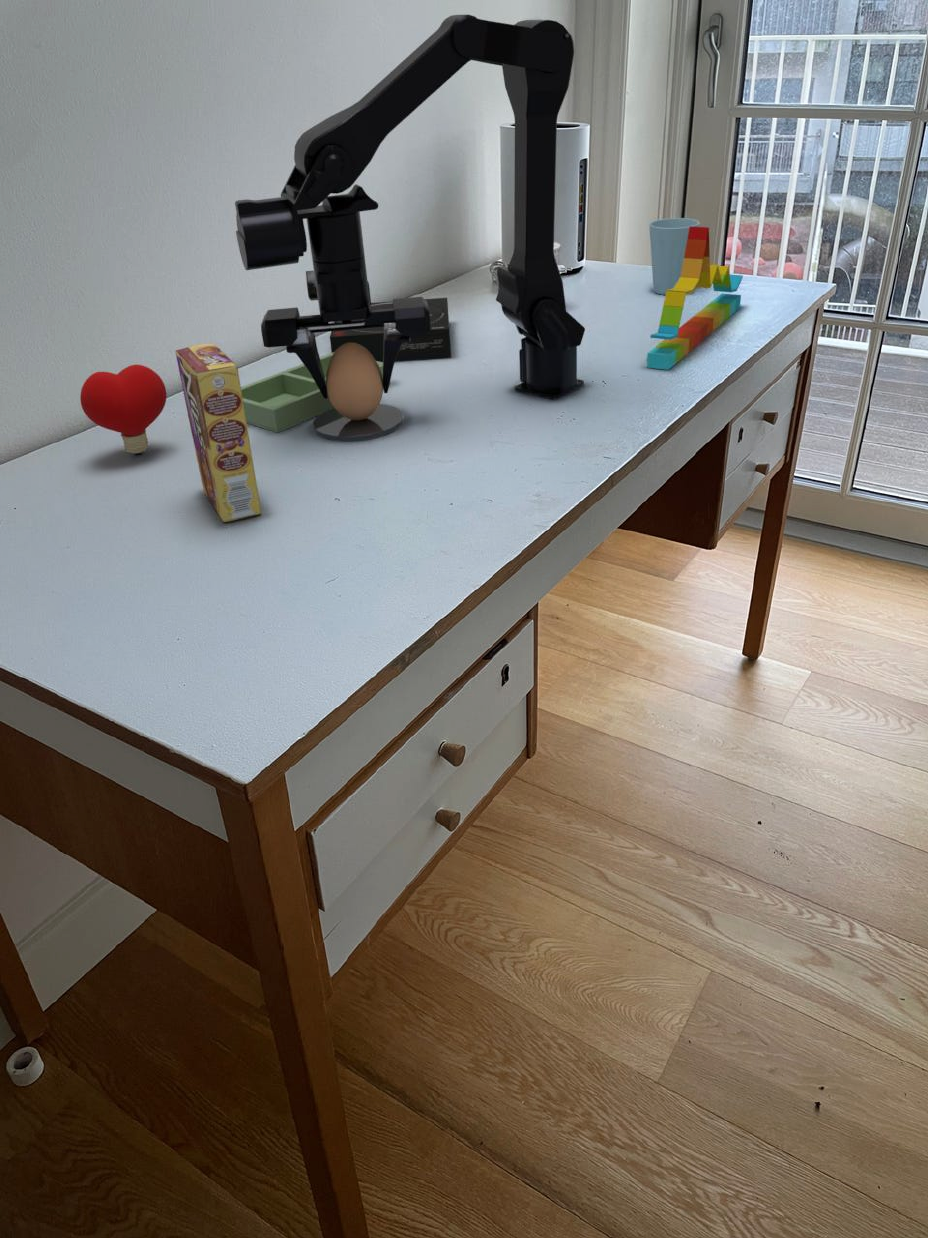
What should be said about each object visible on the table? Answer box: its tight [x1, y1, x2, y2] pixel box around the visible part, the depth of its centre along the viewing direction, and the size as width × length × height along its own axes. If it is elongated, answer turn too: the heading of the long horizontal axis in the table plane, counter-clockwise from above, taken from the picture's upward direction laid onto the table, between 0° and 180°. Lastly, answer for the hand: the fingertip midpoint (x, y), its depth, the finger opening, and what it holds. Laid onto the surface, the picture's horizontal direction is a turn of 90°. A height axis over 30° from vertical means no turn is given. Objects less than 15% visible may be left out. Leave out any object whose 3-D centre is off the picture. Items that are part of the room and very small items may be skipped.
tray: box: [241, 352, 391, 434], centre depth 124 cm, size 10×19×3 cm, turn 140°
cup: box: [648, 217, 701, 296], centre depth 155 cm, size 8×8×10 cm
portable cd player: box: [329, 297, 452, 362], centre depth 142 cm, size 16×17×4 cm
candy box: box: [174, 343, 262, 523], centre depth 96 cm, size 9×4×15 cm, turn 26°
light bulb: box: [79, 364, 168, 457], centre depth 110 cm, size 9×7×10 cm
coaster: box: [312, 403, 405, 442], centre depth 117 cm, size 11×11×1 cm
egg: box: [326, 342, 384, 420], centre depth 114 cm, size 7×7×9 cm
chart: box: [645, 226, 744, 371], centre depth 134 cm, size 30×3×15 cm, turn 150°
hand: (356, 394), depth 115 cm, fingers closed on egg, 7 cm apart
